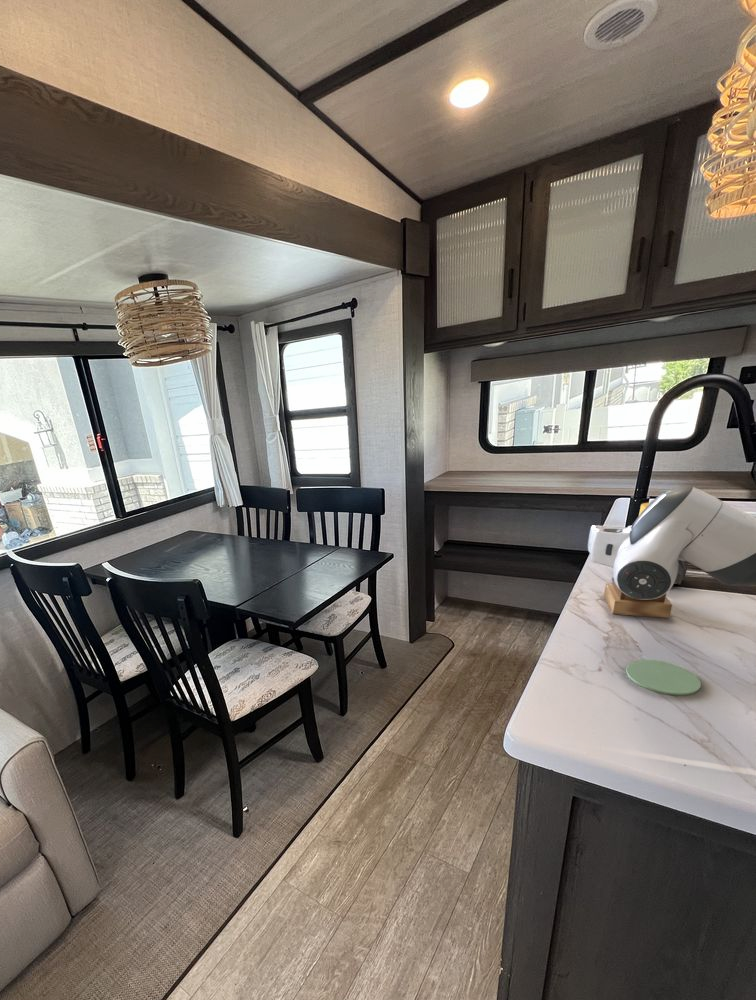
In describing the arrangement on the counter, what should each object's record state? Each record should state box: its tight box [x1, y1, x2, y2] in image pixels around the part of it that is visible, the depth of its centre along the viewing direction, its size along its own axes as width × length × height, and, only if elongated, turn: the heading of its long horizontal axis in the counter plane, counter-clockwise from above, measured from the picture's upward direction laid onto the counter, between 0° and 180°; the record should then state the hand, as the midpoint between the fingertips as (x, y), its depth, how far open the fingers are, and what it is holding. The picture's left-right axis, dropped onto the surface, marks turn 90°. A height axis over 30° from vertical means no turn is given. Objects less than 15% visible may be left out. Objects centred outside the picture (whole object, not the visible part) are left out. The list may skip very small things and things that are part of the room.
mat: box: [625, 659, 702, 696], centre depth 78 cm, size 10×10×1 cm
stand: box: [603, 580, 673, 619], centre depth 100 cm, size 10×10×6 cm
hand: (650, 531), depth 95 cm, fingers closed on yellow cylinder, 5 cm apart
